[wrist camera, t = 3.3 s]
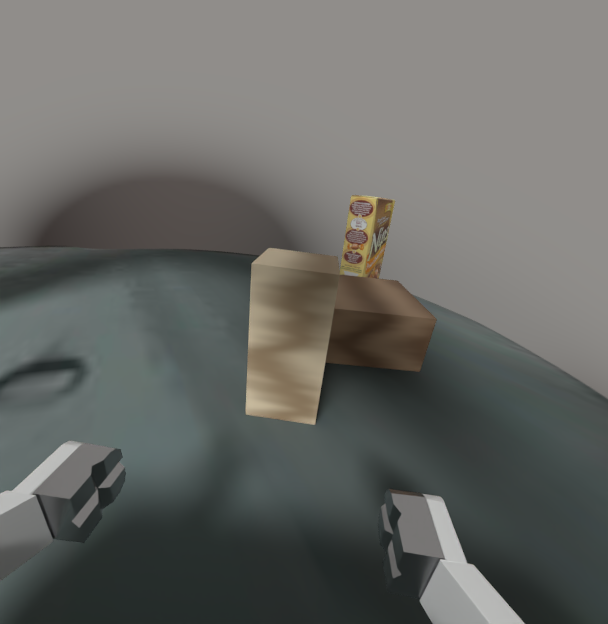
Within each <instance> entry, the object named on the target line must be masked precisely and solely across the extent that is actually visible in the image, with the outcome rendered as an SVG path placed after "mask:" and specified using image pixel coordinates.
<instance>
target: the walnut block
mask: <svg viewBox="0 0 608 624" xmlns="http://www.w3.org/2000/svg"><path fill="white" fill-rule="evenodd" d="M436 320H437V319H436V318H435V317H434V316H433V315H432V314H431V313H430V312H429V311H428V310H427V309H426V308H425V307H424V306H423V305H422V304H421V303H420V302H419V301H418V300H417V299H416V298H415V297H414V296H413V295H412V294H410V293H409V292H408V291H407V290H406V289H405V288H404V287H403V286H402V285H401V284H400V283H399V282H398V281H394V280H385V279H376V278H367V277H358V276H349V275H340V277H339V283H338V289H337V295H336V301H335V307H334V313H333V319H332V325H331V331H330V337H329V343H328V349H327V355H326V362H325V363H335V364H345V365H356V366H366V367H376V368H386V369H397V370H407V371H417V372H420V370H421V366H422V363H423V360H424V357H425V354H426V351H427V348H428V345H429V342H430V339H431V335H432V332H433V329H434V326H435V323H436Z"/></svg>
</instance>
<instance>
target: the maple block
mask: <svg viewBox="0 0 608 624" xmlns="http://www.w3.org/2000/svg"><path fill="white" fill-rule="evenodd" d="M339 277H340V272H339V263H338V257H336V256H329V255H321V254H313V253H306V252H298V251H290V250H282V249H275V248H268V249H267V250H266V251H265V252H264V253H263V254H262V255H260V256H259V257H258V258H257V259H256V260H255V261H254V262H253V263H252V266H251V291H250V316H249V341H248V367H247V392H246V414H247V415H253V416H260V417H266V418H273V419H280V420H286V421H293V422H300V423H306V424H313V425H315V422H316V416H317V410H318V404H319V398H320V392H321V386H322V380H323V374H324V368H325V362H326V355H327V349H328V343H329V337H330V331H331V325H332V319H333V313H334V307H335V301H336V295H337V289H338V283H339Z"/></svg>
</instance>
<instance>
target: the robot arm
mask: <svg viewBox="0 0 608 624" xmlns="http://www.w3.org/2000/svg"><path fill="white" fill-rule="evenodd" d="M122 457H123V456H122V453H121V449H117V448H111V447H105V446H99V445H94V444H88V443H82V442H76V441H68V442H66V443H64V444H62V445H61V446H60V447H59V448H58V449H57V450H56V451H55V452H54V453H53V454H51V455H50V456H49V457H48V458H47V459H46V460H45V461H44V462H43V463H42V464H41V465H40V466H39V467H37V468H36V469H35V470H34V471H33V472H32V473H31V474H30V475H29V476H28V477H27V478H26V479H24V480H23V481H22V482H21V483H20V484H19V485H18V486H17V487H16V488H15V489H14V490H13V491H5V492H3V493H1V494H0V581H1V580H3V579H4V578H5V577H7V576H8V575H9V574H11V573H12V572H13V571H15V570H16V569H17V568H19V567H20V566H21V565H23V564H24V563H25V562H27V561H28V560H29V559H31V558H32V557H33V556H35V555H36V554H37V553H39V552H40V551H41V550H43V549H44V548H45V547H47V546H48V545H49V544H50V543H52V542H53V541H54V540H53V539H57V540H65V541H73V542H80V543H85V541H86V540H87V538H88V537H89V536H90V534H91V533H92V531H93V530H94V528H95V527H96V526H97V524H98V523H99V521H100V520H101V519H102V514H103V508H105V507H106V506H108V505H109V504H111V503H112V502H114V500H115V499H116V497H117V496H118V494H119V493H120V491H121V489H122V486H123V484H124V482H125V475H126V472H125V467H124V466H123V465H122V464H121V463H120V462H119V461H120V460H121V458H122ZM384 498H385V504H384V505H383V506H381V509H380V512H379V520H378V530H379V539H380V544H381V546H382V547H383V549H384V550H385V552H386V555H385V557H384V560H383V567H384V574H385V581H386V587H387V593H391V594H396V595H401V596H407V597H412V598H417V599H420V603H421V605H422V606H423V608H424V610H425V612H426V613H427V615H428V617H429V618H430V620H431V622H432V624H525V623H524V622H523V621H522V620H521V619H520V618H519V616H518V615H517V614H516V613H515V612H514V611H513V609H512V608H511V607H510V606H509V605H508V604H507V603H506V601H505V600H504V599H503V598H502V597H501V596H500V595H499V593H498V592H497V591H496V590H495V589H494V588H493V586H492V585H491V584H490V583H489V582H488V581H487V580H486V578H485V577H484V576H483V575H482V574H481V573H480V572H479V570H478V569H477V568H476V567H475V566H474V565H473V564H469V563H467V561H466V558H465V555H464V553H463V550H462V547H461V545H460V542H459V540H458V537H457V534H456V532H455V529H454V526H453V524H452V521H451V519H450V516H449V513H448V511H447V508H446V505H445V503H444V500H443V499H442V498H441V497H440V496H434V495H427V494H421V493H417V492H409V491H402V490H394V489H388V490H387V491H386V493H385V496H384Z"/></svg>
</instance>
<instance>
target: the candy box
mask: <svg viewBox="0 0 608 624" xmlns="http://www.w3.org/2000/svg"><path fill="white" fill-rule="evenodd" d="M394 203H395V200H391V199H385V198H379V197H370V196H359V195H352V196H351V202H350V207H349V214H348V220H347V227H346V234H345V241H344V248H343V254H342V261H341V268H340V275H349V276H358V277H367V278H376V279H379V274H380V270H381V265H382V261H383V256H384V251H385V245H386V241H387V237H388V232H389V227H390V222H391V217H392V212H393V208H394Z"/></svg>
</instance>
